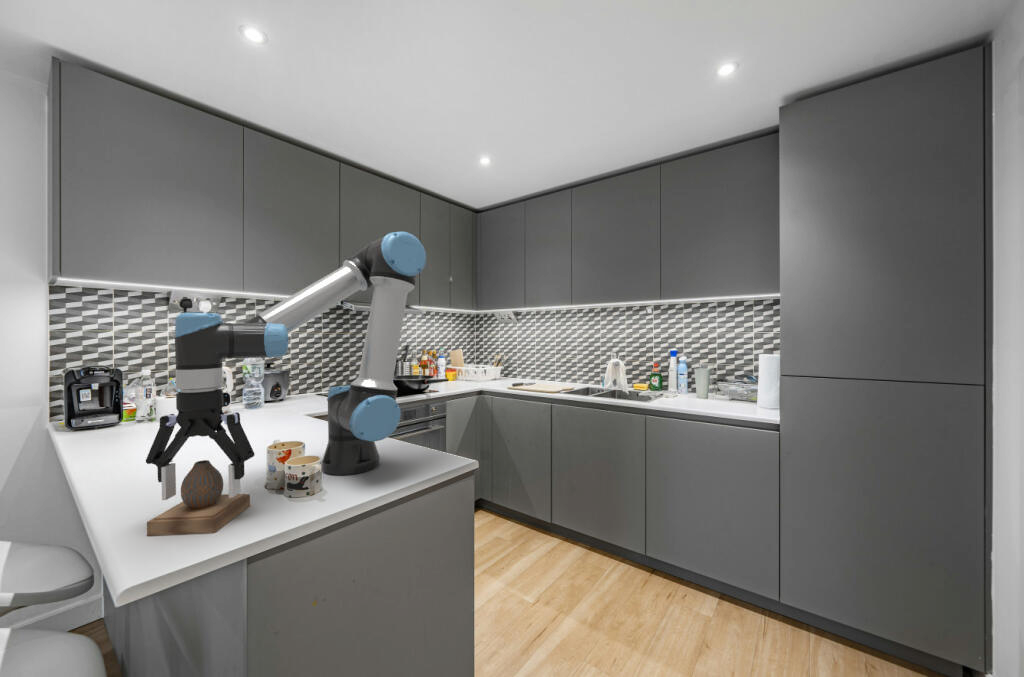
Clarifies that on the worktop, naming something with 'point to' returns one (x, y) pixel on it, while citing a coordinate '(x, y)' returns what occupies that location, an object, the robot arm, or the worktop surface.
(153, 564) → the worktop surface
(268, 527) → the worktop surface
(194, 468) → the vase
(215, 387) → the robot arm
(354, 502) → the worktop surface
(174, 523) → the tray
